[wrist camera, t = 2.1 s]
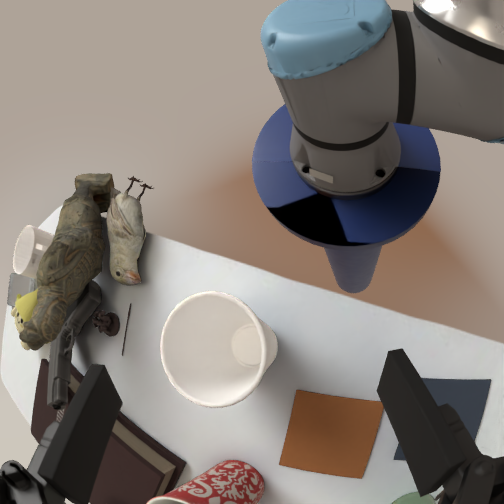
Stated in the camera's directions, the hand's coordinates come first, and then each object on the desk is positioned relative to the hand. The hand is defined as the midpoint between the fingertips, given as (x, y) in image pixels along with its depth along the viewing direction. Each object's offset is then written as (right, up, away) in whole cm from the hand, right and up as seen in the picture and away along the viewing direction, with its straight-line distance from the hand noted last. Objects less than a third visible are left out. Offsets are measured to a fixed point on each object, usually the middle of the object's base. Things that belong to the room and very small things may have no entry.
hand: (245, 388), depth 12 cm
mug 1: (-36, +4, +36) cm, 51 cm away
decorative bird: (-16, +17, +29) cm, 37 cm away
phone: (-53, -3, +41) cm, 67 cm away
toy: (-46, -12, +34) cm, 59 cm away
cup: (0, -5, +21) cm, 22 cm away
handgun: (-21, -4, +24) cm, 32 cm away
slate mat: (+22, -13, +11) cm, 27 cm away
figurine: (-20, -5, +28) cm, 35 cm away
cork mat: (+9, -14, +15) cm, 23 cm away
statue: (-27, +17, +35) cm, 48 cm away
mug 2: (-2, -24, +16) cm, 29 cm away
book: (-24, -26, +24) cm, 43 cm away
